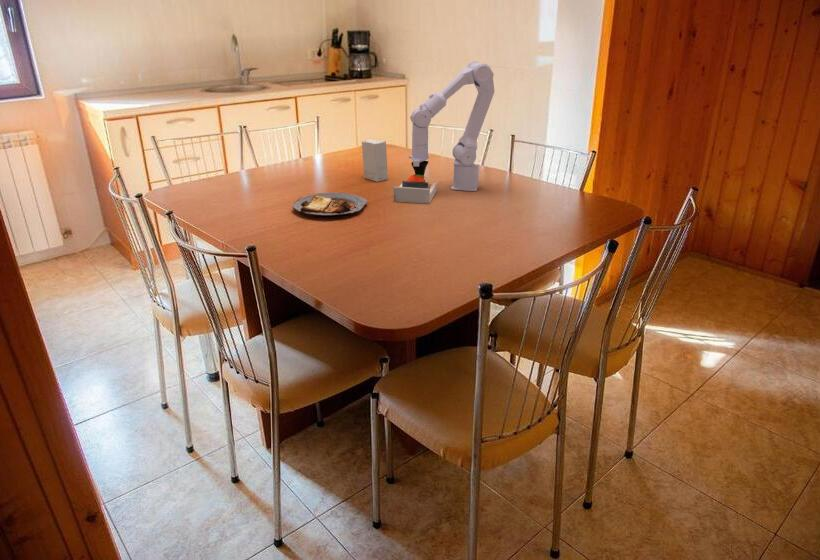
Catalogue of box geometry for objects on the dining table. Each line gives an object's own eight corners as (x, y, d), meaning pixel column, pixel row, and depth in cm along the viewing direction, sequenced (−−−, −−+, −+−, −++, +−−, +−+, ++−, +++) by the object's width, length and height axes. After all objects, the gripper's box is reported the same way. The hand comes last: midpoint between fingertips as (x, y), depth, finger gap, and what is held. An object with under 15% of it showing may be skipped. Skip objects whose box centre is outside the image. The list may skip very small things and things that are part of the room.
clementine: (429, 191, 215) (429, 172, 212) (427, 196, 208) (428, 177, 205) (407, 190, 215) (407, 171, 212) (405, 196, 209) (405, 176, 206)
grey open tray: (436, 190, 215) (437, 177, 213) (428, 203, 201) (429, 189, 199) (403, 188, 217) (403, 175, 215) (393, 201, 203) (393, 187, 201)
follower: (428, 196, 208) (428, 182, 205) (427, 197, 207) (427, 183, 204) (402, 195, 209) (402, 180, 207) (402, 196, 208) (402, 181, 206)
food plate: (354, 222, 183) (353, 211, 182) (283, 218, 187) (282, 208, 185) (373, 201, 206) (372, 191, 204) (309, 197, 209) (308, 188, 208)
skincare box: (388, 179, 229) (387, 141, 223) (376, 182, 225) (375, 143, 219) (374, 175, 234) (373, 138, 228) (362, 178, 231) (361, 140, 224)
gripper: (413, 139, 215) (413, 175, 221) (404, 147, 202) (404, 186, 208) (432, 140, 214) (431, 176, 220) (424, 148, 201) (424, 187, 207)
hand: (419, 181), depth 214 cm, fingers closed
